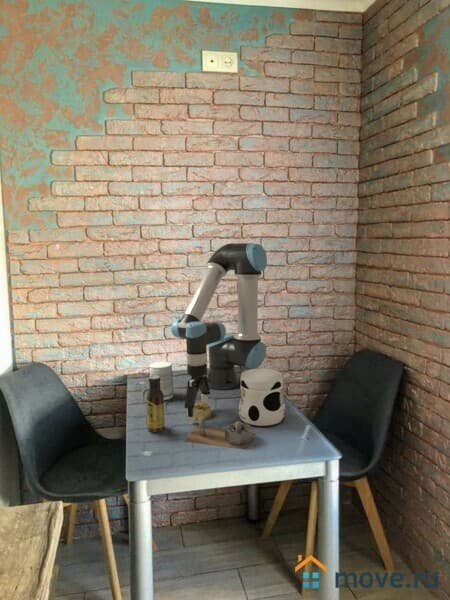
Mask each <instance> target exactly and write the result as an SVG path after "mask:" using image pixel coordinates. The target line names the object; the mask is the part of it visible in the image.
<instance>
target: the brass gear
mask: <svg viewBox="0 0 450 600" xmlns="http://www.w3.org/2000/svg"><path fill="white" fill-rule="evenodd" d="M194 407H195V421H199V418H201V417H203V418H205V420H206V419H209V417H210V416H211V415H212V408H211V407H212V406H210V405H209V403H208V404H204V403H201V402H195V405H194ZM185 409H186V410H185V411H186V419H187V420H188V409H187V408H185Z"/></svg>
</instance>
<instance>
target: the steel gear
mask: <svg viewBox="0 0 450 600" xmlns="http://www.w3.org/2000/svg"><path fill="white" fill-rule="evenodd" d="M241 427H242V431H236V426H235V422H234V423H230V424H227V425H226V427H224V430H225V441H226V442H227V443H228V444H230V445H236V446H242V445H246V444H250V442H251V441H252V442H253V440H254V438H253V436H252V433H253V426H251V425H248V424H246V423H245V422H241ZM252 439H253V440H252ZM252 442H251V443H252ZM250 445H251V444H250Z"/></svg>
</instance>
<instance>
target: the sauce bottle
mask: <svg viewBox="0 0 450 600" xmlns="http://www.w3.org/2000/svg"><path fill="white" fill-rule="evenodd" d="M148 382H149V383H148V384H149V386H148V387H149V388H148V392H147V396H146V401H145V402H146V422H147V424H146V426H147V430H148V431H149V432H151V433H158V432H159V433H160V432H162V431H163V430H165V425H166V424H165V400H164V395H163V392H162V391H161V389H160V376H158V375H153V376H150V375H149V377H148Z"/></svg>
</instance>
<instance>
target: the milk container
mask: <svg viewBox="0 0 450 600" xmlns="http://www.w3.org/2000/svg"><path fill="white" fill-rule="evenodd" d="M239 378H240V379H239V384H240V399H239V402H238V415H239V418H240V420H241V422H242V423H246V424H248V425H250V426H251V427H258V428H268V427H273V426H276V425H279V424H280V423H282V421H283V420H284V419H285V417H286V416H285V415H286V404H285V401H284V394H283V393H284V384H283V383H284V378H283V373H282V372H281V371H279V370H277V369H272V368H265V367H264V368H262V367H261V368H259V367H258V368H249V369H246V370H244V371H242V372H241V374H240V377H239Z"/></svg>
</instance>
